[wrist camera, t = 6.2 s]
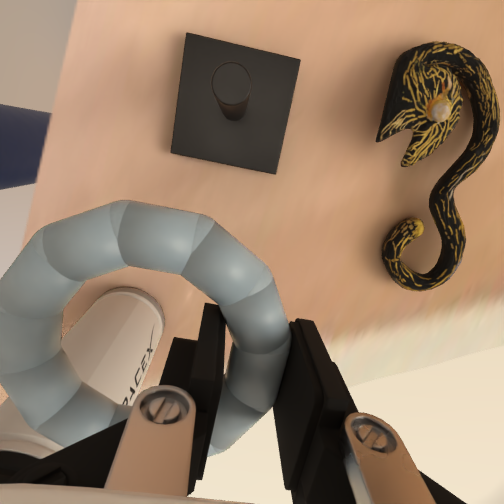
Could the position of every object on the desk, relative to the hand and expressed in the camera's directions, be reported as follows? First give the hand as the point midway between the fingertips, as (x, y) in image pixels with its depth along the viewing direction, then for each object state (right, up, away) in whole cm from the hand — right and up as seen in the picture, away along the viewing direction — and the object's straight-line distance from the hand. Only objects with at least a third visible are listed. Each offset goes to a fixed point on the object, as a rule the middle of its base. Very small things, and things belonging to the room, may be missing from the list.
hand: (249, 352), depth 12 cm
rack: (-1, +14, +14) cm, 20 cm away
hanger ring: (-3, 0, -1) cm, 3 cm away
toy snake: (+13, +9, +16) cm, 23 cm away
